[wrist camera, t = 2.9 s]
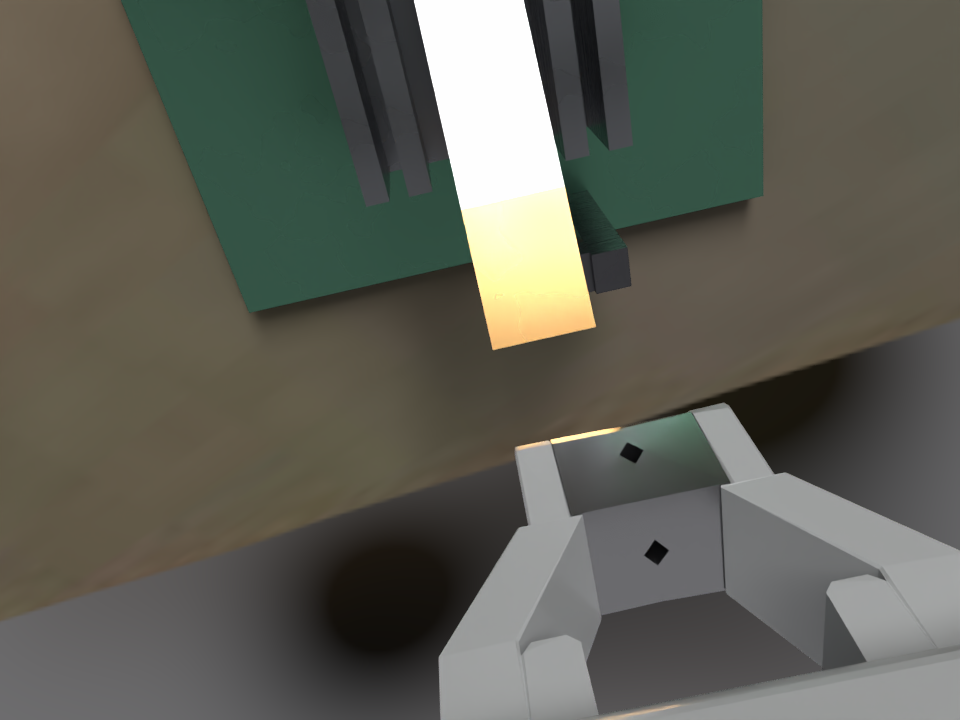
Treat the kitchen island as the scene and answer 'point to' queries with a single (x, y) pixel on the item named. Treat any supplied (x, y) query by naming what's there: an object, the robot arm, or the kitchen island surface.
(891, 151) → the kitchen island surface
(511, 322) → the white strip
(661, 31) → the circuit board
